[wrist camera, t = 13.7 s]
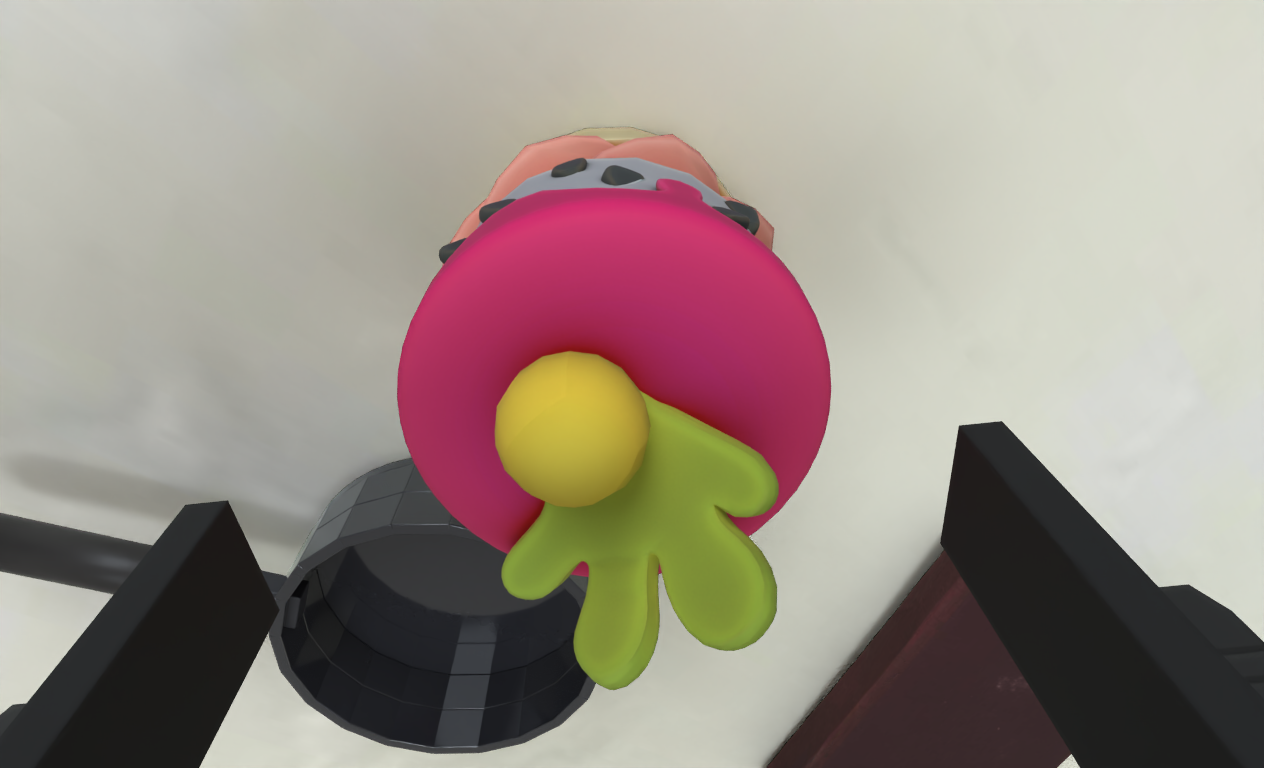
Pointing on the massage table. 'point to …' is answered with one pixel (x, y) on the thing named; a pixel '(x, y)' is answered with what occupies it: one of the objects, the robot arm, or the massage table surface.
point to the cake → (618, 390)
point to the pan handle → (91, 559)
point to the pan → (424, 627)
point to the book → (930, 695)
